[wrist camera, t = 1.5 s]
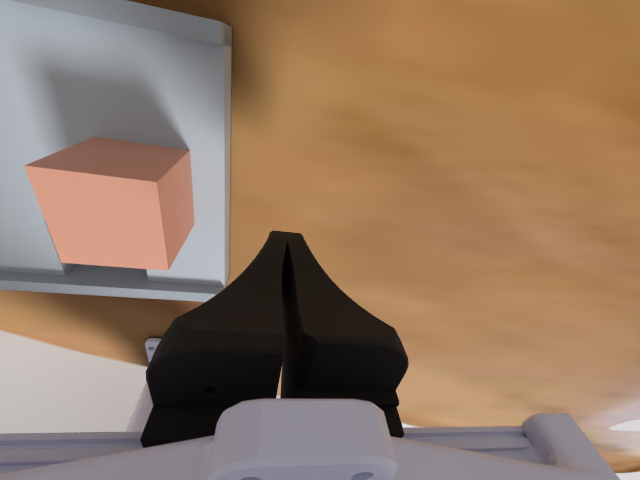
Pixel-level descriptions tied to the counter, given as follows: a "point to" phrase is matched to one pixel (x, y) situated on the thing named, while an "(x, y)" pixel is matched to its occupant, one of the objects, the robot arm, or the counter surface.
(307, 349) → the robot arm
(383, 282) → the counter surface
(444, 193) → the counter surface
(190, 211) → the block
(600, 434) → the counter surface
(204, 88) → the trap board
